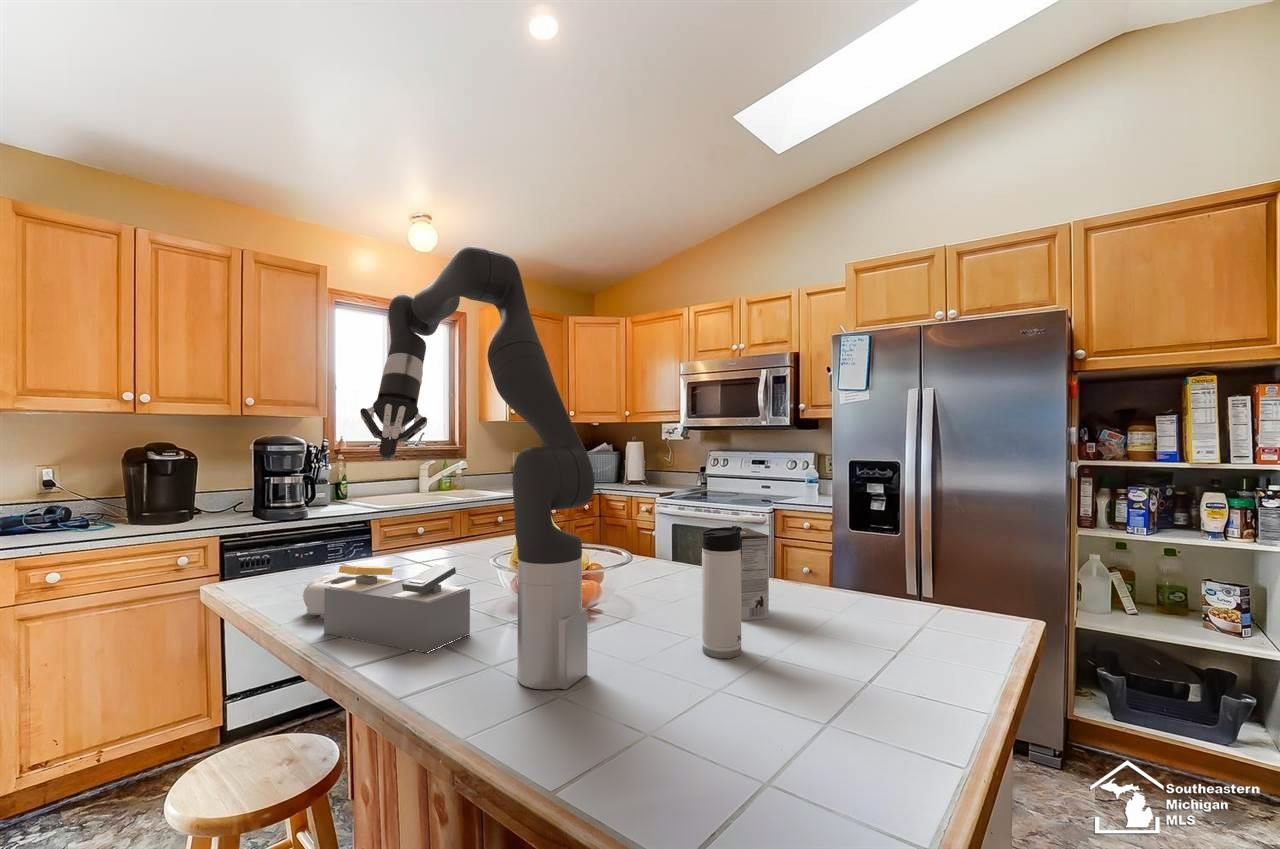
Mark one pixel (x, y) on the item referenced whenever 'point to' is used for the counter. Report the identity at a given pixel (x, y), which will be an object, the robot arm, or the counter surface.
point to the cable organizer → (321, 592)
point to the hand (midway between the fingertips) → (386, 458)
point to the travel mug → (721, 592)
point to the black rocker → (428, 578)
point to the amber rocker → (365, 570)
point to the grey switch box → (396, 613)
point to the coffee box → (754, 575)
